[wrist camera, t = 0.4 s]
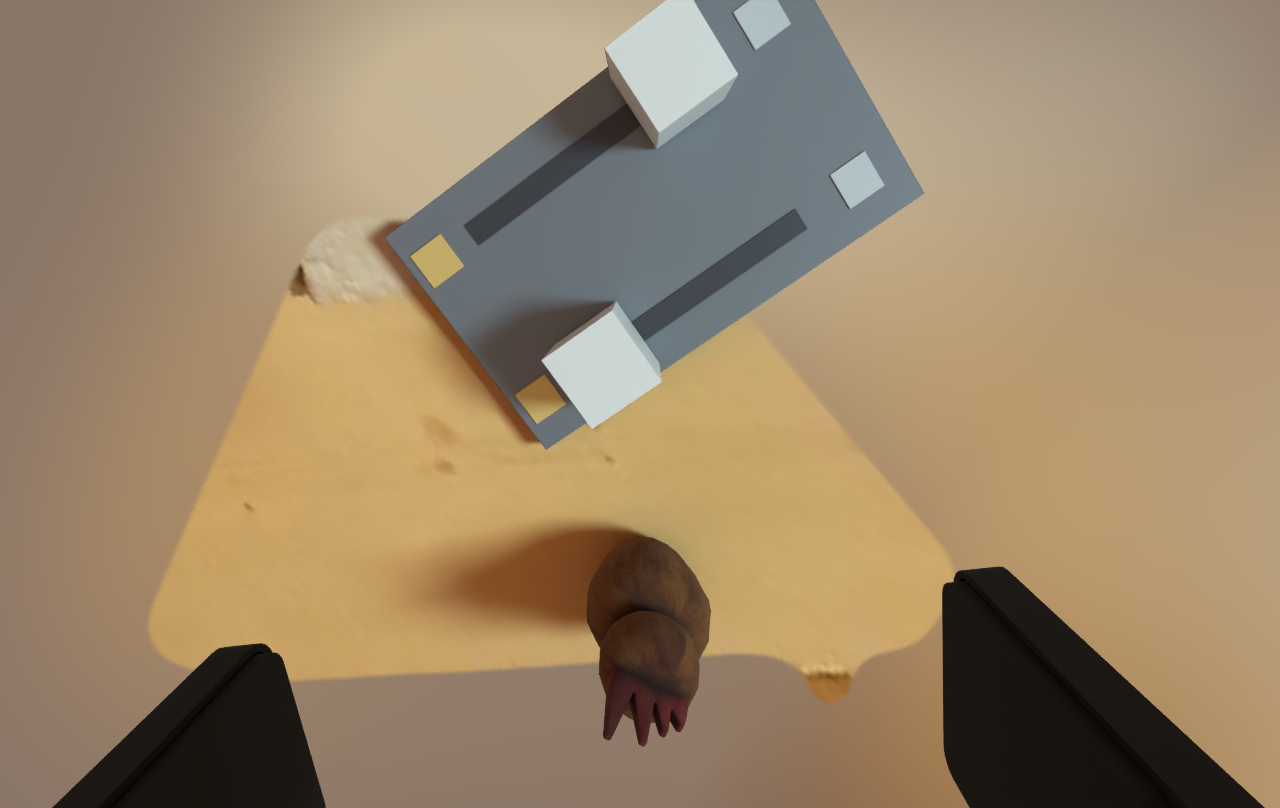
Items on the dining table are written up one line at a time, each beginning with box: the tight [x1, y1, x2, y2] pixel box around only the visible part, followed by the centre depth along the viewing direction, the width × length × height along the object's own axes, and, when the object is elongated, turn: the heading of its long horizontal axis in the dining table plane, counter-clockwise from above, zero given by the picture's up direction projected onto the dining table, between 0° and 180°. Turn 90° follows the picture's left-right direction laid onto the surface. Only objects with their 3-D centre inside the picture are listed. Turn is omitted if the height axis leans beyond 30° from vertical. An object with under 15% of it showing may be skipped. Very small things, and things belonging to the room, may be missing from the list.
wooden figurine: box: [587, 537, 711, 747], centre depth 33 cm, size 7×6×15 cm
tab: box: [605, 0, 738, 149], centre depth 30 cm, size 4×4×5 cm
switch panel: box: [385, 0, 924, 450], centre depth 35 cm, size 24×14×2 cm, turn 125°
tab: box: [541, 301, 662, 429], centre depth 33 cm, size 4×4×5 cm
